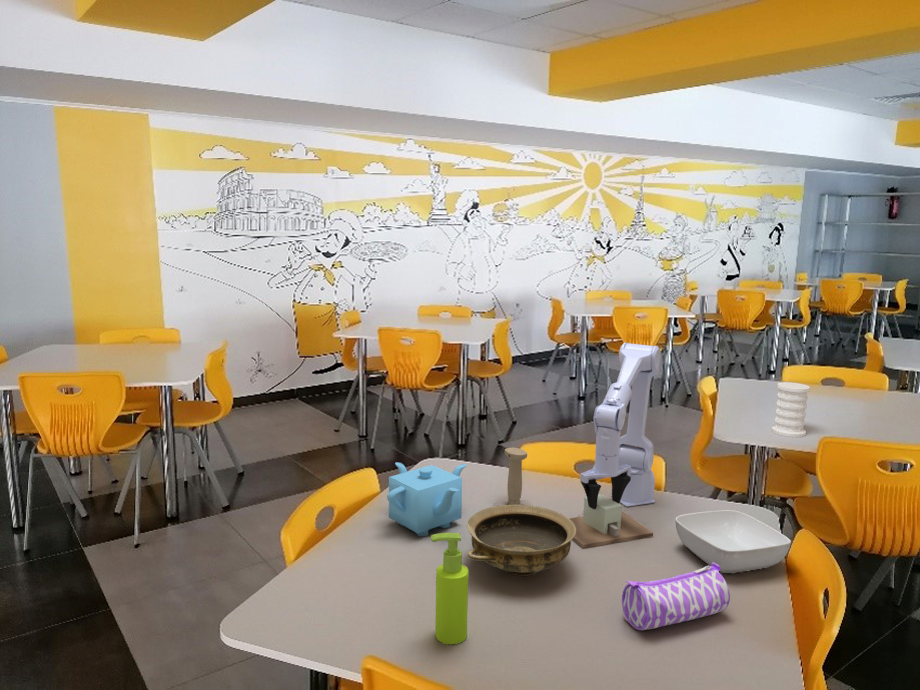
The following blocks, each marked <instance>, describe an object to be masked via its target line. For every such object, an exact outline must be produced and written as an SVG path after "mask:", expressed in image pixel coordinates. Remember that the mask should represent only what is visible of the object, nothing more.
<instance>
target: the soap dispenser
mask: <svg viewBox="0 0 920 690" xmlns="http://www.w3.org/2000/svg"><path fill="white" fill-rule="evenodd" d="M430 541H432V542H433V543H435V542H440V541H441V542H443V541H447V545H448V546H447V548H446V549H445V550H444V551H443V553H442V554H443V555H442V556H443V557H442V558H443V559H442V564H439V566H437V568H436V570H435V572H436V573H435V629H434V630H435V632H434V635H435V636H436V637H435V639H436V638H437V639H438V640H439V641H440V643H441V642H442V643H441V644H444V645H448V644H455V645H459V644H461V642H462V643H463V642H464V641H466V639H467V637H468V634H467V633H468V611H469V610H468V605H469V604H468V602H469V601H468V599H469V568H468V567H467V566H466V565H464V564H463V552H462V550H461V549H459V548H458V543H459V542H461V541H462V537H461V533H459V532H439V533H434V534H431V535H430ZM437 639H436V640H437ZM438 640H437V641H438ZM439 641H438V642H439ZM458 643H459V644H458Z"/></svg>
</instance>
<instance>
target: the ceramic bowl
mask: <svg viewBox="0 0 920 690" xmlns="http://www.w3.org/2000/svg"><path fill="white" fill-rule="evenodd" d="M466 529H467V531H468V533H469V535H471V546H472V550H471V549H470V550H469V551H468V552H467V557H468V558H469V559H470V560H473V561H480V562H481V561H483V562H484V563H486V564H488V565H490V566H492V567H494V568H497V569H500V570H503V571H505V572H507V573H508V574H511V575H515V576H518V577H519V576H523V577H524V576H532V575H534V574H536V573H538V572H541V571H546V570H548V569H551V568H553V567H555V566H558V565H559V564H560V563H562V562H563V561H564V560H565V559H566V558H567V556H568V555H569V554H570V550H571V546H572V545H571V544H572V541H573V540H572V539H573V538H574V536H575V534H576V527H575V525H574V523H573V522H572V521H571V520H570V519H569V517H568V516H566V515H564V514H562V513H561V512H558V511H555V510H553V509H549V508H546V507H541V506H537V505H536V506H534V505H528V504H527V505H526V504H519V505H510V504H503V505H495V506H490V507H487V508H483V509H481V510H479V511H477V512H475V513H473V514H472V515H471V516H470V517H469V518H468V520H467V522H466ZM475 554H476V555H475Z"/></svg>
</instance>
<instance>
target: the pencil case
mask: <svg viewBox="0 0 920 690" xmlns="http://www.w3.org/2000/svg"><path fill="white" fill-rule="evenodd" d="M720 569H721V568H720V566H719V565H717V564H715V563H713V562H712V566H710V565H706V566H704V567H703V568H700V569H696V570H694V571H690V572H687V573H683V574H678V575H675V576H673V577H668V578H663V579H657V580H656V579H655V580H648V581H637V580H636V581H631V580H628V579H626V580H625V582H626V583H627V584H626V585H625V586H624V588H623V591H622V595H621V606H622V607H621V608H622V612H623V615H624V617H625V619H626V621H627V622H628V623H629V624H630V626H631V627H633V628H634V629H635V630H638V631H645V630H653V629H657V628H660V627H665V626H670V625H674V624H680V623H683V622H688V621H691V620H692V621H693V620H695V619H699V618H703V617H706V616H707V617H708V616H711V615H715V614H718V613H721V612H724V611H725V610H726V609H727V608H728V607H729V605H730V601H731V593H730V589H729V586H728V584H727V582H726V579H725V578H724V577H723V574H722V573H721V572H719V571H720Z"/></svg>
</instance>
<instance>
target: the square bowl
mask: <svg viewBox="0 0 920 690" xmlns="http://www.w3.org/2000/svg"><path fill="white" fill-rule="evenodd" d="M675 529H676V533H677V536H678V537H679V539H680V541H681V542H682V544H683V545H684V546H685V547H686V548H688V549H689V551H691V552H692V553H693V554H694V555H695V554H696V555H695V556H696V557H698V558H699V559H700V560H702V561H703V562H704V563H706V564H707V565H708V566H710V567H711V566H712V562H713V563H715V564H717V565H719V566H720V568H721V569H720V572H719V573H720V574H723V573H731V574H735V573H734V572H740V573H743V572H742V571H747V572H749V571H748V570H754V571H756V570H755V569H760V568H765V567H768V568H770V567H772V566H775V565H778V564H779V563H780V562H781V561H782V560H784V559H785V557H786V556H787V554H788V552H789V550H790V548H791V547H790V546H791V544H792V540H791V539H790V538H789V537H787V536H786V535H784V534H783V533H781V532H780V531H778V530H776V529H775V528H773V527H771V526H770V525H767V523H764V522H763V521H761V520H758V519H757V518H755V517H753V516H752V515H749V514H748V513H744V512H741V511H738V510H732V509H722V510H720V509H719V510H708V511H707V510H706V511H700V512H691V513H685V514H680V515H677V516H676V517H675ZM769 566H770V567H769ZM765 569H766V568H765ZM760 570H761V569H760Z"/></svg>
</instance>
